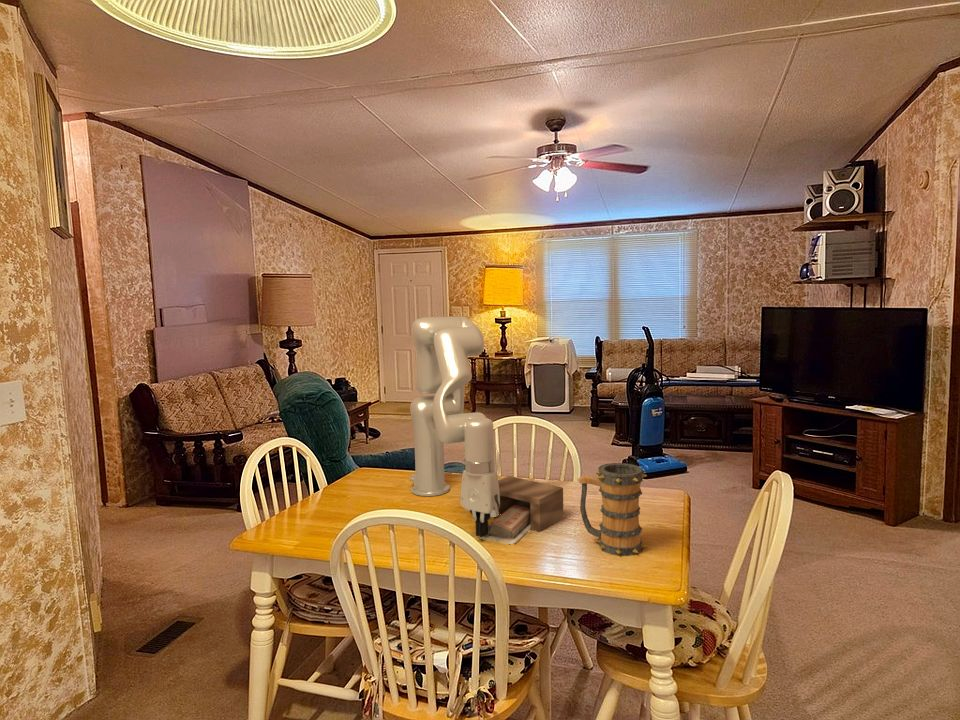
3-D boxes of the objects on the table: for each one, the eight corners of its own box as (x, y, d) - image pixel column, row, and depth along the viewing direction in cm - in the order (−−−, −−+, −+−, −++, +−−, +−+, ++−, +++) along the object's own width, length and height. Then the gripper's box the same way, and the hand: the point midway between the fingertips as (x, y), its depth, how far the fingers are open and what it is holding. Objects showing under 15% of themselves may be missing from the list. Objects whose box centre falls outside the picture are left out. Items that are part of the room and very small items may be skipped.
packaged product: (507, 501, 169) (539, 506, 164) (507, 518, 169) (539, 523, 165) (478, 523, 153) (513, 529, 148) (478, 541, 153) (513, 548, 149)
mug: (646, 560, 138) (646, 478, 136) (573, 553, 144) (572, 473, 142) (648, 539, 151) (648, 463, 149) (580, 532, 156) (580, 459, 154)
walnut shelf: (484, 516, 169) (484, 486, 168) (509, 504, 178) (508, 476, 178) (540, 531, 157) (539, 499, 156) (563, 518, 166) (563, 487, 166)
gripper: (448, 465, 153) (451, 533, 155) (493, 474, 143) (495, 546, 145) (467, 458, 159) (469, 524, 160) (512, 467, 149) (513, 536, 151)
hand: (482, 534), depth 153 cm, fingers closed
